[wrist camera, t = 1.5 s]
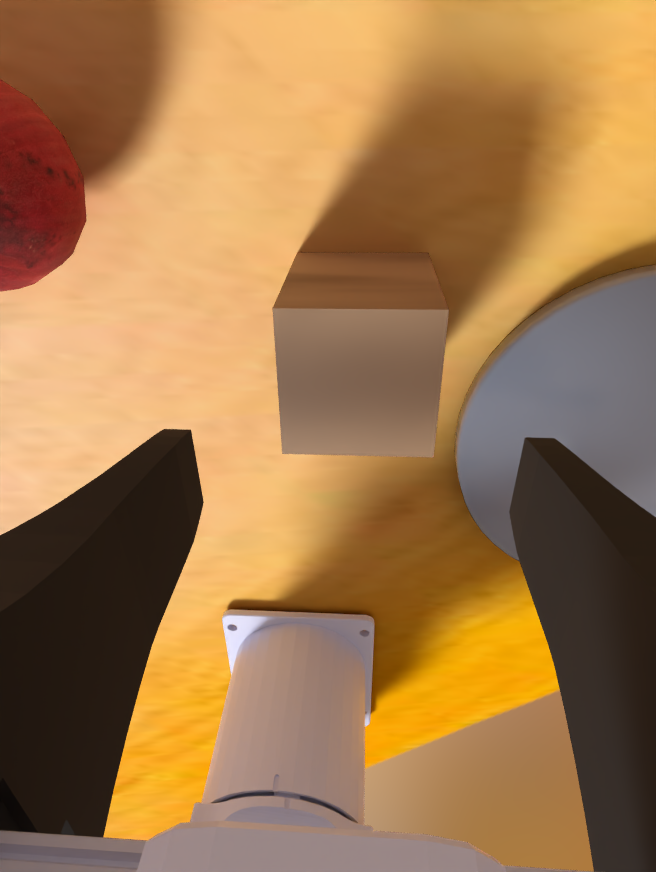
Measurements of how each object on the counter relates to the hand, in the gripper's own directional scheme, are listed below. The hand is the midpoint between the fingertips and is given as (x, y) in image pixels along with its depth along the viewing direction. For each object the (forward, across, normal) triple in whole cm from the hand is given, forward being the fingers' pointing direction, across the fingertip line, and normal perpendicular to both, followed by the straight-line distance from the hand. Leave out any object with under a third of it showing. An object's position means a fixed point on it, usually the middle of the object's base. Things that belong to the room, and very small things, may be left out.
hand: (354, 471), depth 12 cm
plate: (+10, -11, +5) cm, 16 cm away
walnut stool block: (+10, 0, 0) cm, 10 cm away
